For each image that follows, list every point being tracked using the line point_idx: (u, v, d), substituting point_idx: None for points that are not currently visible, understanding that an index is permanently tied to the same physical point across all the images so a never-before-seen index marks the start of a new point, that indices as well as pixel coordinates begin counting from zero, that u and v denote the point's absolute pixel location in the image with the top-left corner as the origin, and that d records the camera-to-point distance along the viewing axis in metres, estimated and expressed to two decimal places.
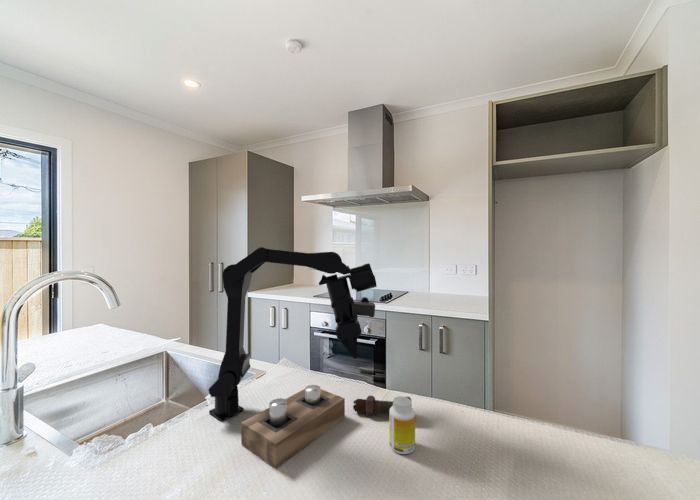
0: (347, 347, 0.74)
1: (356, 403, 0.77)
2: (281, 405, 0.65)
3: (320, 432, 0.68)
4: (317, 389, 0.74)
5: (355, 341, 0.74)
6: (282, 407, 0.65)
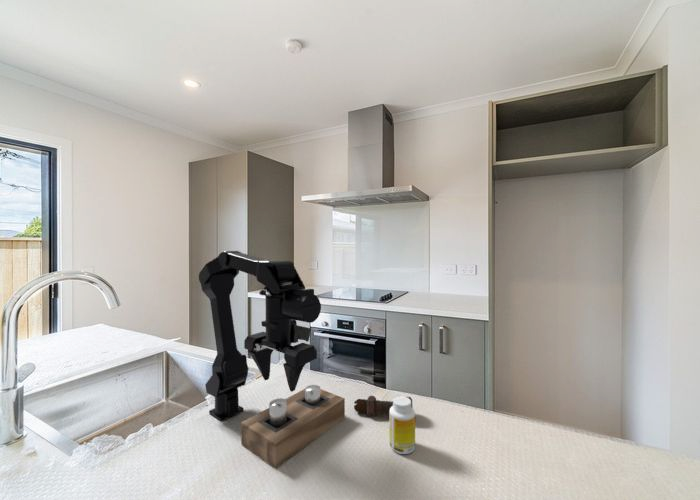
0: (291, 377, 0.62)
1: (357, 403, 0.77)
2: (281, 405, 0.65)
3: (320, 432, 0.68)
4: (317, 389, 0.74)
5: (300, 369, 0.63)
6: (282, 407, 0.65)
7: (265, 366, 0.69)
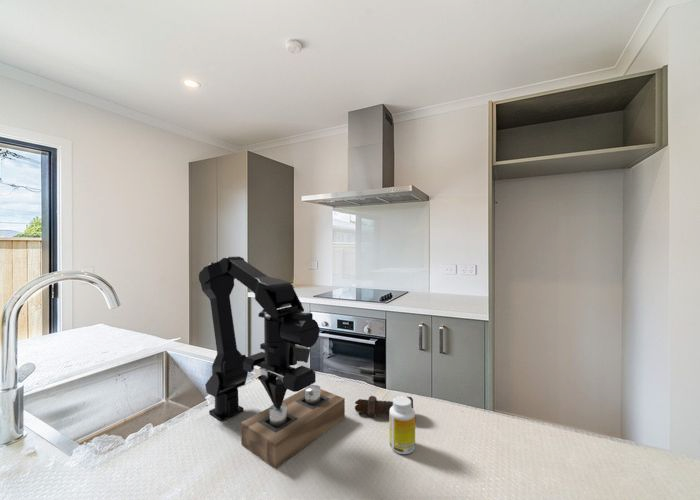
0: (277, 395, 0.64)
1: (358, 403, 0.77)
2: (281, 410, 0.65)
3: (320, 432, 0.68)
4: (317, 389, 0.74)
5: None
6: (282, 411, 0.65)
7: None
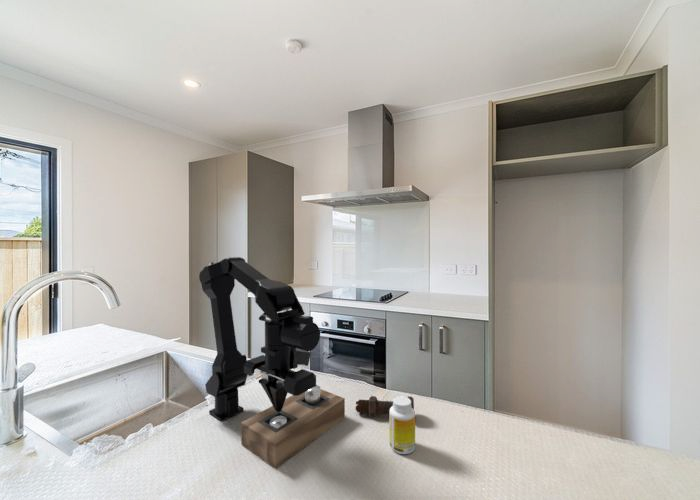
0: (277, 399, 0.64)
1: (358, 404, 0.77)
2: (281, 423, 0.65)
3: (320, 432, 0.68)
4: (317, 389, 0.74)
5: None
6: None
7: None
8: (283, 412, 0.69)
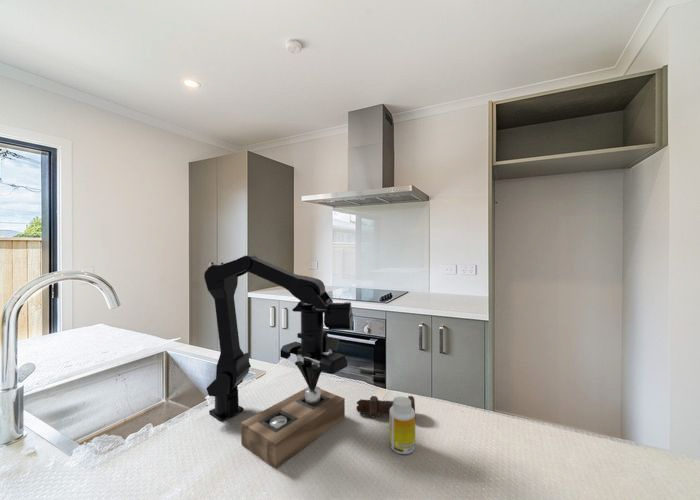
0: (312, 378, 0.73)
1: (359, 404, 0.77)
2: (281, 423, 0.65)
3: (320, 432, 0.68)
4: (317, 390, 0.74)
5: (320, 371, 0.74)
6: None
7: None
8: (283, 412, 0.69)
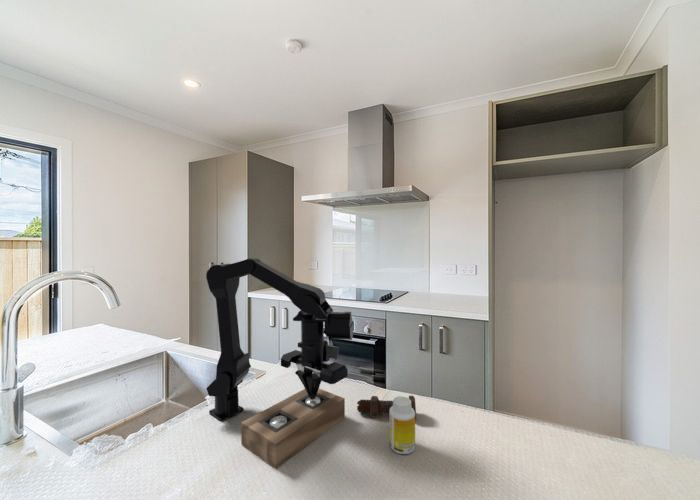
0: (313, 388, 0.73)
1: (360, 404, 0.77)
2: (281, 423, 0.65)
3: (320, 432, 0.68)
4: (317, 401, 0.74)
5: (320, 381, 0.74)
6: None
7: None
8: (283, 412, 0.69)
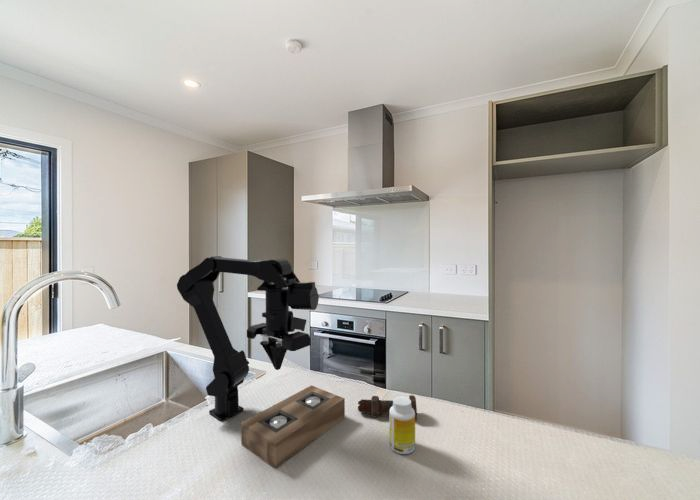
0: (277, 357, 0.73)
1: (361, 404, 0.77)
2: (281, 423, 0.65)
3: (320, 432, 0.68)
4: (317, 401, 0.74)
5: (285, 351, 0.74)
6: None
7: None
8: (283, 412, 0.69)
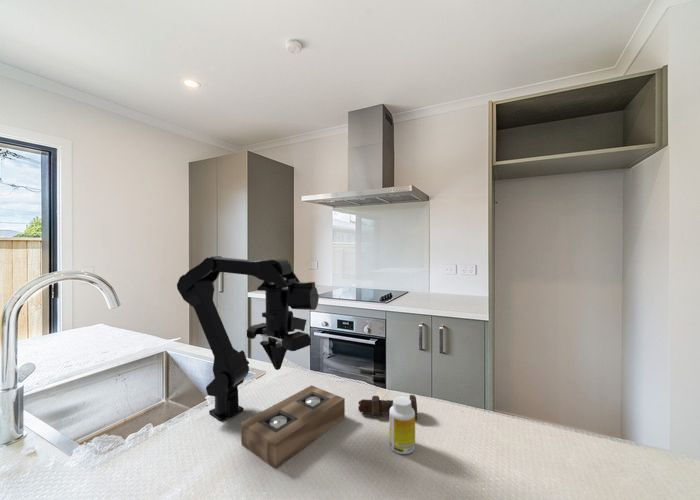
0: (277, 357, 0.73)
1: (361, 404, 0.77)
2: (281, 423, 0.65)
3: (320, 432, 0.68)
4: (317, 401, 0.74)
5: (285, 351, 0.74)
6: None
7: None
8: (283, 412, 0.69)
